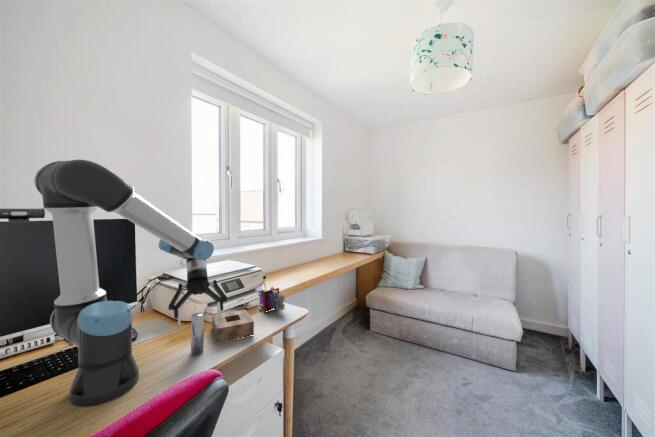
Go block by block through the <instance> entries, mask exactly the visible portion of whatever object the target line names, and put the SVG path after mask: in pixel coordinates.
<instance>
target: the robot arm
mask: <svg viewBox="0 0 655 437" xmlns="http://www.w3.org/2000/svg"><path fill="white" fill-rule="evenodd" d="M33 180H34V186H35V188H36V190H37V191H38V193H39V194H40V195H41V196H42V203H43V204H42V205H43V209H44V210H45V211H47V212H49V213H50V214H51V215H52V224H53V234H54V244H55V254H56V263H57V273H58V280H59V281H58V282H59V283H58V284H59V291H60V295H58V297H57V298H56V299H54V300H53V306H54V310H52V313H51V314H50V318H49V325H50V327H51V329H52V331H53V332H54V334H56V336H58V337H60V338H62V339H65V340H67V341H68V342H69V343H72V344H73V345H75V346H77V350H78V352H77V355H78V356H77V358H78V359H77V360H78V368H77V371H76V373H75V376H74V379H73V380H72V383H71V386H70V389H69V402H70V403H71V404H72V405H74V406H77V407H88V406H89V407H91V406H96V405H99V404H104V403H106V402H109V401H111V400H114V399H115V398H116V399H117V398H118V397H120V396H123V395H124V394H125V393H127V392H129V391H130V390H131V389H133V387H134V386H136V384H137V383H138V381H139V377H140V369H139V367H138V365H137V362H136V360H135V357H134V356H133V318H134V317H133V313H132V312H133V310H132V307H131V305H129V303H127V302H125V301H121V300H116V301H115V300H108V299H107V291H106V290H105V289H103V288H102V287H100V279H99V269H98V259H97V257H98V256H97V248H96V233H95V224H94V212H95V211H96V210H98V209H99V208H100V209H102V210H103V211H105V212H106V213H107V212H108V213H116V214H118V215H119V216H121V217H123V218H124V219H126V220H127V221H129V222H131V223H133V224H134V225H135V226H138V227H139V228H141V229H143V230H145V231H146V232H148V233H149V234H152V235H153V236H155V237H156V238H158V239H160V240H159V242H158V248H159V250H161V251H163V252H165V253H167V254H170V255H172V256H176V257H179V258H182V259H183V260H186V262H185V264H186V281H187V282H186V284H182V283H178V285H177V286H178V287H177V290H176V292H175V294H174V295H173V297H172V299H171V300H170V303H169V304H168V310H169V311H173V315H174V316H173V318H174V320H177V329H181V327H182V326H181V324H182V323H181V307H182V306H183V305H184V303H185V302H186V301H187V300H188V299H189V298H190V297H191V296H192V295H193V296H196V295H203V294H205V295H207V296H208V297H210V298H211V299H213V300H214V301H215V302H216V303H217V304H216V311H217V314H218V320H219V321H220V320H221V318H222V316H221V314H222V312H223V310H224V303H226V302H227V300H228V297H227V295H226V294H225V293H224V291H223V290H222V289H221V288H220V286H219V285H218V282H217V280H216V279H214V280H213V281H209V280H208V278H209V277H208V276H209V275H208V268H207V267H208V266H207V260H209V259H210V258H211V257H212V255H213V253H214V251H215V250H214V249H215V248H214V244H213V243H212V241H210V240H207V239H202V238H200V237H199V236H197V235H196V234H195V233H193V232H191V231H190V230H189V229H187V228H185V227H184V226H183V225H182V224H180V223H179V222H177V221H176V220H174V219H173V218H172V217H170V215H167V214H165V213H164V212H163V211H161V210H160V209H158V207H156V206H154V205H153V204H152V203H150V202H149V201H148V200H146V199H145V198H143V197H142V196H141V195H139V194H138V193H136V192H135V188H134V186H133V185H130V183H128V182H127V181H125V180H124V179H122V178H121V177H120V176H118V175H117V174H116V173H114V172H112V171H111V170H109V169H108V168H106V167H104V166H103V165H101V164H99V163H97V162H94V161H92V160H87V159H72V160H58V161H53V162H50V163H48V164H46V165H44V166H42V167H41V168H40V169H39V170H37V172H36V173H35V176H34V179H33ZM210 287H211V288H213V290H214V291H215V292H214V291H213V290H212V289H211V288H210ZM185 289H186V290H187V292H186V293H185V294H184V295H183V296H182V297H181V298H180V296H181V293H182V291H185ZM216 293H217V294H216ZM179 298H180V299H179ZM178 299H179V300H178ZM176 302H177V303H176Z"/></svg>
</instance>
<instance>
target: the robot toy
mask: <svg viewBox="0 0 655 437" xmlns="http://www.w3.org/2000/svg"><path fill="white" fill-rule="evenodd" d="M262 279H263V280H264V281H266V280H265V279H267V275H263V276H262ZM263 286H264V288H265V289H264V288H262V289H260V290H261V291H260V290H258V292H257V295H258V296H259V305H258V310H259V311H263V312H264V314H267V313H266V311H269V310H271V309H273V308H274V309H277V310H279V311H284V310H285V309H286V304H285V303H284V302H285V300H286V297H285V296H284V294H282V293H280V288H279V287H278V288H275V287H273V286H272V287H271V288H270V289H269V290H267V289H266V283H264V284H263Z"/></svg>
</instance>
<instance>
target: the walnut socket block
mask: <svg viewBox="0 0 655 437" xmlns="http://www.w3.org/2000/svg"><path fill="white" fill-rule="evenodd" d="M211 316H212V317H211V329H212V332H213V336H214V339H215V343H216V344H217V345H219V344H218V343H220V344H224V343H227V342H226V341H229V342H231V341H230V340H233V339H237V338H242V337H247V336H250V335H254V333H255V332H254V331H255V328H254V326H255V322H254V319H253V318H252V317H251V315H250V314H249V312H248V311H247V309H240V310H234V311H227V312H221V316H222V318H221V320H220V321H219V320H218V313H217V314H212V315H211ZM247 338H248V337H247ZM242 339H243V338H242ZM233 341H234V340H233ZM223 342H224V343H223Z"/></svg>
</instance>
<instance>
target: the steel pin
mask: <svg viewBox="0 0 655 437" xmlns="http://www.w3.org/2000/svg"><path fill="white" fill-rule="evenodd" d="M190 318H191V324H190V325H191V327H190V328H191V329H190V330H191V331H190V332H191V333H190V355H191V356H193V357H198V355H199V356H201V355H202V354H204V345H205V344H204V341H205V340H204V339H205V338H204V336H205V333H204V332H205V313H204V312H201V311H200V312H195V313H193V314H191V317H190ZM200 354H201V355H200Z"/></svg>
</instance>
